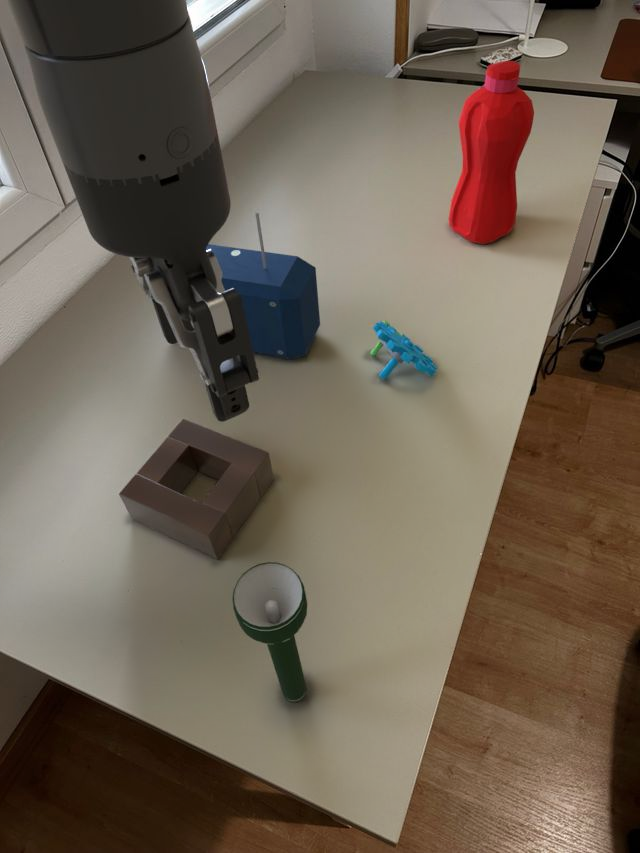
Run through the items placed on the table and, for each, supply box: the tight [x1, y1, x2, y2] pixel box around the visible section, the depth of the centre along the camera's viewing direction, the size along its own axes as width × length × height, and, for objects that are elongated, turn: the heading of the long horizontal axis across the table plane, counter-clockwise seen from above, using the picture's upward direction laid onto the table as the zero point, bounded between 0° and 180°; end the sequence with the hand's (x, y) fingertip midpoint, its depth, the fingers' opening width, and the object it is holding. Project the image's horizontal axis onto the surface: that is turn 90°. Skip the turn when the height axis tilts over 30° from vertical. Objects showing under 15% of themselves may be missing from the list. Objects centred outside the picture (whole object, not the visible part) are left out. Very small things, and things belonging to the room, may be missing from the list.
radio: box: [206, 212, 321, 360], centre depth 84 cm, size 21×9×20 cm, turn 72°
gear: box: [369, 320, 439, 381], centre depth 84 cm, size 11×6×10 cm
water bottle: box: [448, 60, 535, 245], centre depth 96 cm, size 9×11×25 cm
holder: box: [118, 418, 275, 561], centre depth 72 cm, size 12×12×5 cm
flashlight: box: [231, 561, 308, 704], centre depth 52 cm, size 5×5×20 cm
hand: (205, 373), depth 43 cm, fingers open, 8 cm apart
